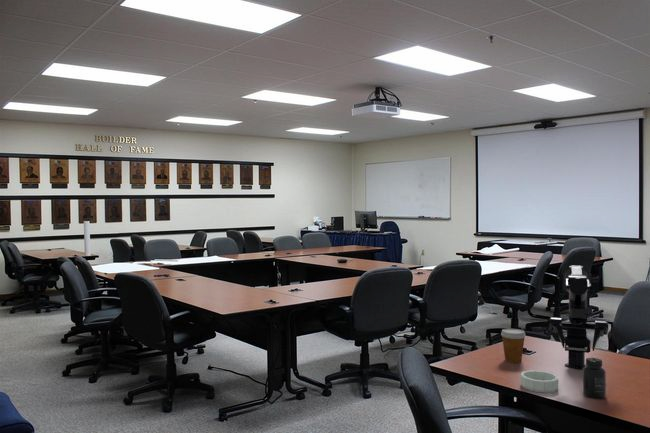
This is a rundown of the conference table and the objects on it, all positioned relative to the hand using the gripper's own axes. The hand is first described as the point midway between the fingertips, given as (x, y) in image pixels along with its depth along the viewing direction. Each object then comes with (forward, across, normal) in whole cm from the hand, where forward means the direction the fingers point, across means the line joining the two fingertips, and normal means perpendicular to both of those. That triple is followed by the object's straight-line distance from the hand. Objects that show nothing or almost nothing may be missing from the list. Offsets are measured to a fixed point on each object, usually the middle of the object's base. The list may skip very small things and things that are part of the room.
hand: (578, 349), depth 184 cm
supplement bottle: (+15, +4, +2) cm, 16 cm away
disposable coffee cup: (-3, -23, +28) cm, 37 cm away
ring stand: (+14, -12, +3) cm, 19 cm away
